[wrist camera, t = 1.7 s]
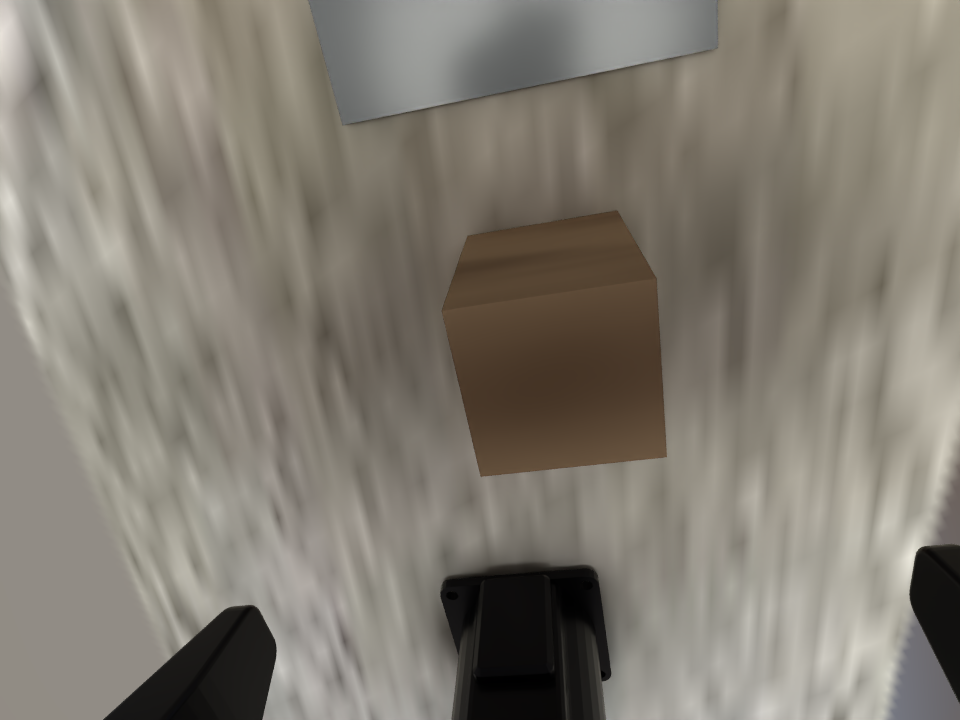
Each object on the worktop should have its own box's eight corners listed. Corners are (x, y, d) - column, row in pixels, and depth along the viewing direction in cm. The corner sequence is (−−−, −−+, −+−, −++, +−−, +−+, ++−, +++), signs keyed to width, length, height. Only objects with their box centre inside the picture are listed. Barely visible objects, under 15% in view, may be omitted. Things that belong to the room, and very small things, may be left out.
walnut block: (628, 346, 19) (666, 457, 14) (493, 364, 20) (480, 476, 15) (617, 210, 17) (656, 278, 12) (467, 235, 18) (441, 310, 13)
